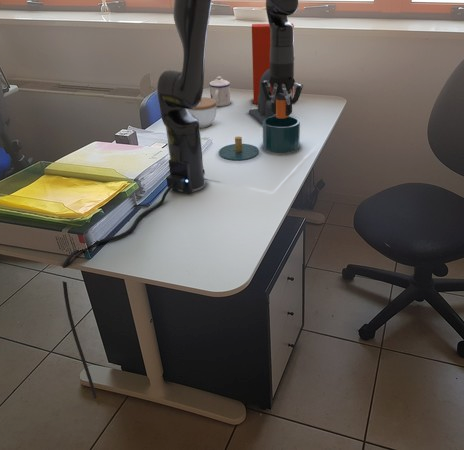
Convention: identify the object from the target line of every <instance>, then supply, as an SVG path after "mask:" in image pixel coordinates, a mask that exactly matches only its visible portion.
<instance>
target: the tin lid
mask: <svg viewBox="0 0 464 450" xmlns="http://www.w3.org/2000/svg"><path fill="white" fill-rule="evenodd" d="M259 154H260V149H259V148H258V147H257V146H255V145H253V144H249V143H243V138H242V136H235V137H234V143H231V144H227V145H225V146H222V147H221V148H220V149H219V150H218V155H219V156H220V157H221V158H222V159H224V160H228V161H233V162H234V161H235V162H237V161H238V162H240V161H241V162H242V161H248V160H251V159H254V158H256V157H257V156H258V155H259Z"/></svg>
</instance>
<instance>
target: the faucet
mask: <svg viewBox="0 0 464 450" xmlns="http://www.w3.org/2000/svg"><path fill="white" fill-rule="evenodd" d="M269 79H270V69H268V70H267V71H266V72H265V73H264V74H263V75H262V77H261V80H260V94H259V95H258V104H257V108H253V109H252V108H251V109H250V110H248V115H250V116H251V117H252V118H254V120H256V121H257V122H258V123H259V124H260V125H261V126H263V120H264V119H265V118H267V117H271V116H276V114H273V112H272V103H271V101H269V100H266V97H265V94H264V91H263V88H262V85H261V83H262V82H263V81H265V80H267V81H268V80H269ZM269 88H270V91H271V85H270V87H269Z"/></svg>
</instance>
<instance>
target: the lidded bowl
mask: <svg viewBox="0 0 464 450" xmlns="http://www.w3.org/2000/svg"><path fill="white" fill-rule="evenodd" d="M187 110H188V111H189V112H190V113H191V114H192V115H194V116H195V117H196V118H197V119H198V120H199V125H200V129H202V128H209V127H210V126H212V123H213V122H214V121H215V119H216V116H217V106H216V100H215V99H212V98H211V97H208V96H207V97H205V96H202V98H201V101H200V103H199V104H198V106H197V107H196V108H194V109H187Z"/></svg>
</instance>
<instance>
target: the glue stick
mask: <svg viewBox="0 0 464 450" xmlns="http://www.w3.org/2000/svg"><path fill="white" fill-rule="evenodd" d="M286 105H287V102H286V98H285V97H284V94H282V93H277V94H276V114H275V115H276V117H277V118H281V119H283V118H287V117H288V116H286Z"/></svg>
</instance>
